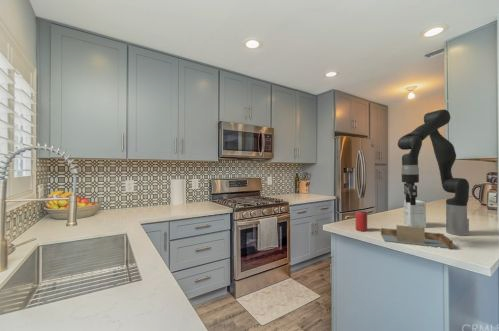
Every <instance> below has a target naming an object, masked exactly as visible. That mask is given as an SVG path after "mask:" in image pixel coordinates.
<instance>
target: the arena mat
mask: <svg viewBox="0 0 499 331" xmlns="http://www.w3.org/2000/svg"><path fill="white" fill-rule="evenodd" d="M380 236H381V237H382V239H383V241H384V242H387V243H396V244H403V245H413V246H422V247H430V246H431V248H438V247H440V249H441V248H442V249H447V248H448V247H447V246H446V245H445V244H443V243H442V242H441V241H440V240H431V239H425V244H422V243H413V242H404V241H397V240H396V238H395V236H392V235H382V234H381V233H380Z"/></svg>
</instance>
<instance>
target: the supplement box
mask: <svg viewBox="0 0 499 331" xmlns="http://www.w3.org/2000/svg"><path fill="white" fill-rule="evenodd" d="M426 203H427V202H425V201H423V200H419V199H417V200H416V205H410V203H407V202H406V199H404V200H403V211H404V212H403V219H404V221H403V222H404V225H405V226H412V227H424V228H425V229H427V214H426V213H427V208H426V207H427V204H426Z"/></svg>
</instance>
